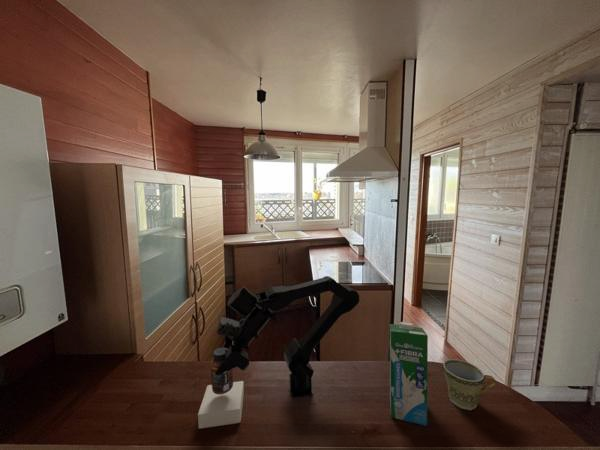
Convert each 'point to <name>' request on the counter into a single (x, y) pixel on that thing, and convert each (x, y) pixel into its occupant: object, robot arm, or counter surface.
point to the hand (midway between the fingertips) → (216, 367)
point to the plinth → (221, 407)
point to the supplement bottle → (223, 380)
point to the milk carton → (408, 373)
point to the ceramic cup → (464, 383)
